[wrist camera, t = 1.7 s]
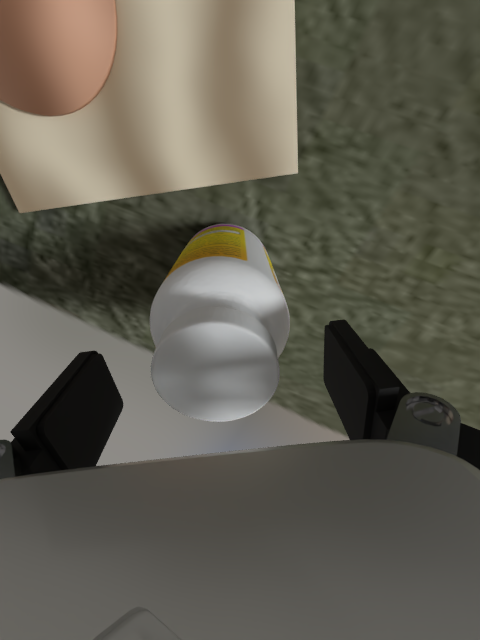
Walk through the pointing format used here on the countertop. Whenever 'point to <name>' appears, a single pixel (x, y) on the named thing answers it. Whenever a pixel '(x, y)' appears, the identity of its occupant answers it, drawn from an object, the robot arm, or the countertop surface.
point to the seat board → (143, 97)
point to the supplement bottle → (219, 327)
